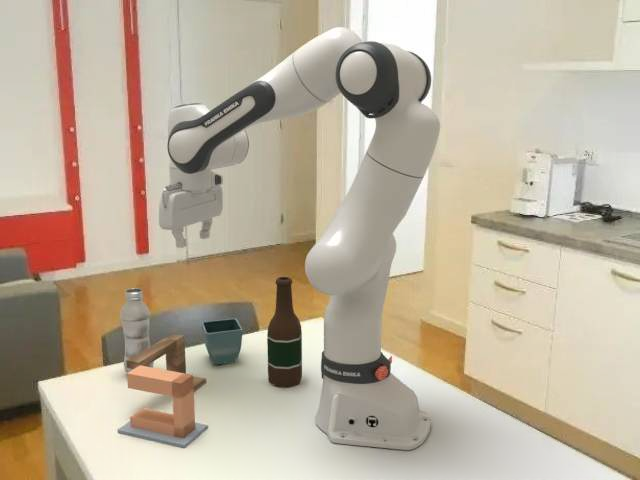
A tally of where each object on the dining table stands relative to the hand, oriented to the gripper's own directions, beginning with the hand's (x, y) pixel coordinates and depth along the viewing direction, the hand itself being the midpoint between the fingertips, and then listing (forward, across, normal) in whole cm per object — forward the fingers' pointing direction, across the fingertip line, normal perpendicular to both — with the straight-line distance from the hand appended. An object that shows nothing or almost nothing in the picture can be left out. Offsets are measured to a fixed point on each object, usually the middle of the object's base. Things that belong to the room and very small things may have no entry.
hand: (193, 242), depth 144 cm
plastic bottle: (+31, -5, +13) cm, 34 cm away
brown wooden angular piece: (+31, -13, +1) cm, 34 cm away
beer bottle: (+31, +4, -20) cm, 37 cm away
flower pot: (+31, +9, -1) cm, 33 cm away
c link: (+30, -25, -8) cm, 40 cm away
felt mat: (+31, -25, -8) cm, 41 cm away
